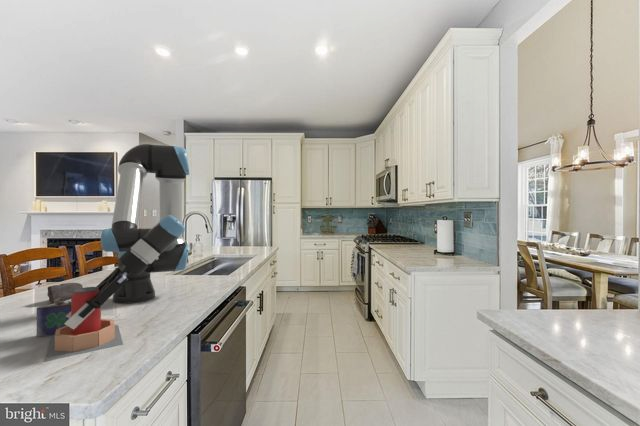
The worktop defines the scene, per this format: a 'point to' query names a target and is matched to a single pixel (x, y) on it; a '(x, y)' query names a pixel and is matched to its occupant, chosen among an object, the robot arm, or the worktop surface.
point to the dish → (84, 337)
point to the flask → (52, 317)
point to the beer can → (78, 301)
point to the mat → (54, 354)
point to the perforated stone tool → (62, 291)
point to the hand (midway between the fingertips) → (69, 322)
